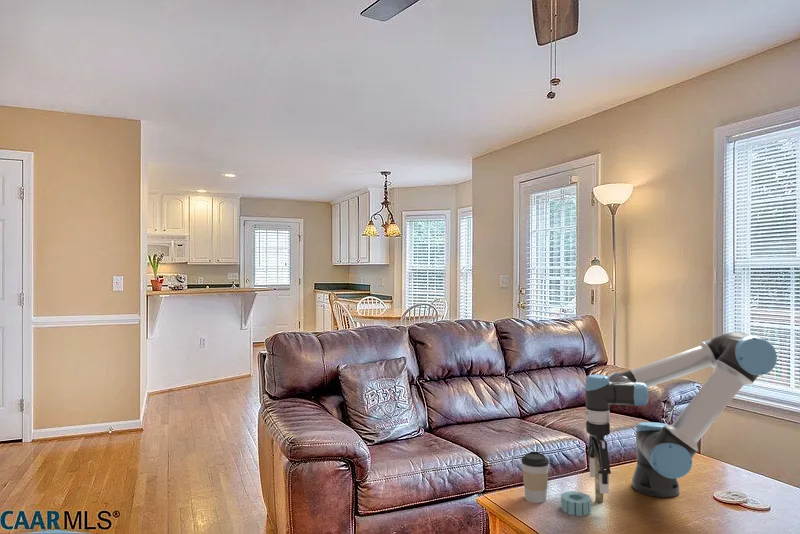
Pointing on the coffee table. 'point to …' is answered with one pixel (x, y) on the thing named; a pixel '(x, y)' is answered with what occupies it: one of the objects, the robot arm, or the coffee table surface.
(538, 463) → the coffee cup
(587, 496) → the bead
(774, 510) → the coffee table surface
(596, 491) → the tan cylindrical rod
